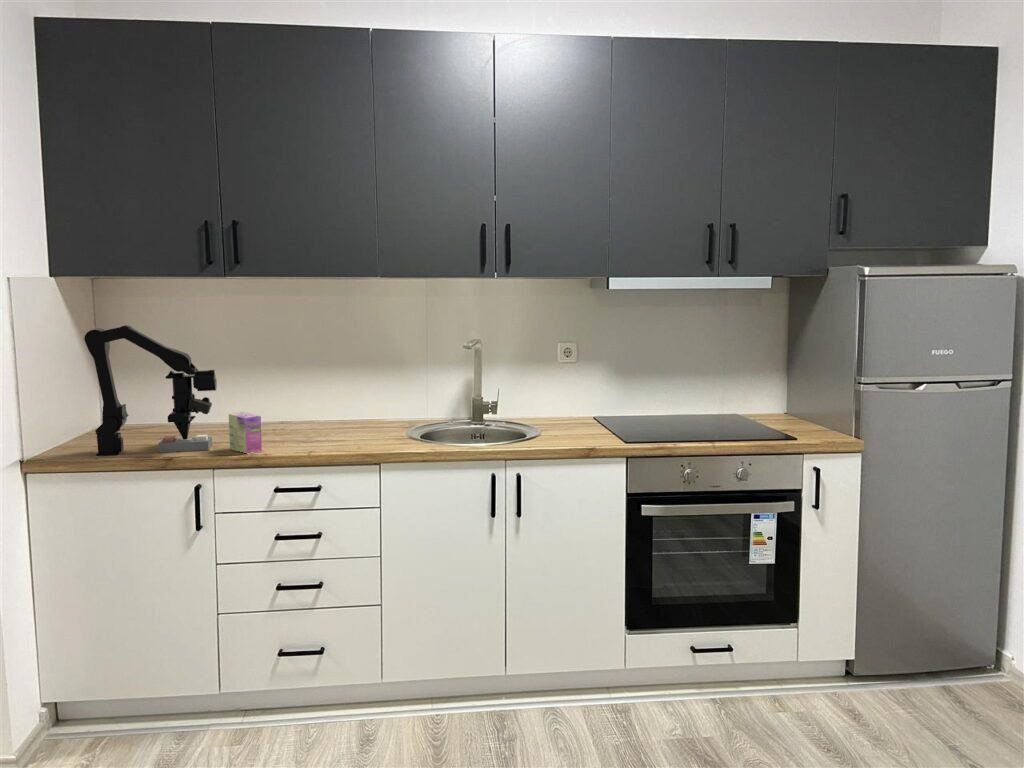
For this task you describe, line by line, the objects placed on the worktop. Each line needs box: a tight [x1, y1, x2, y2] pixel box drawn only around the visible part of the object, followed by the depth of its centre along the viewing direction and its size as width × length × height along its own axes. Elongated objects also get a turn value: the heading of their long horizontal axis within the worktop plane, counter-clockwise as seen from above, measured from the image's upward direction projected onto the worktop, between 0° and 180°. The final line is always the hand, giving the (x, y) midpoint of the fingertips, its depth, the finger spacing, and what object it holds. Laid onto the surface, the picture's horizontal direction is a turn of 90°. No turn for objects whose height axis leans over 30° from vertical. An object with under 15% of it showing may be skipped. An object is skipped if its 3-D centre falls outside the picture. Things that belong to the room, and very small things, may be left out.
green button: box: [179, 437, 192, 441], centre depth 255 cm, size 3×3×2 cm
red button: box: [162, 435, 177, 442], centre depth 254 cm, size 3×3×2 cm
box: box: [228, 411, 263, 454], centre depth 252 cm, size 10×6×12 cm, turn 48°
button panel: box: [157, 436, 213, 453], centre depth 256 cm, size 15×8×3 cm, turn 101°
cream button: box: [195, 434, 209, 441], centre depth 256 cm, size 3×3×2 cm
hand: (185, 439), depth 255 cm, fingers closed, pressing on green button
